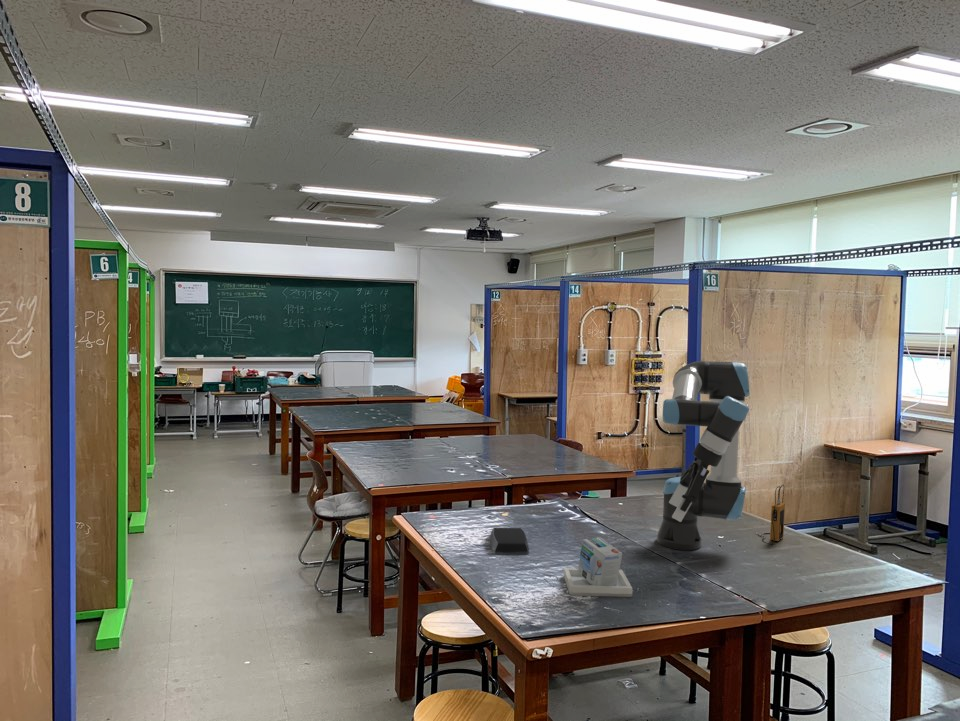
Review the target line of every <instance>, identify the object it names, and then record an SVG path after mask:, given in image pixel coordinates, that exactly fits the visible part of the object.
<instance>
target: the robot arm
mask: <svg viewBox="0 0 960 721" xmlns="http://www.w3.org/2000/svg"><path fill="white" fill-rule="evenodd" d="M748 373H749V371H748V368H747V365H746V364H745V363H743V362H736V361H735V362H734V361H709V360H698V361H694V362H691V363H688V364H685V365H683V366H682V367H680V368H679V369H678V370H677V371H676V372H675V374H674V376H673V380H672V386H673V392H672V397H671V398H669V399H668V398H666V399H664V400H663V402H662V403H663V404H662V421H663V422H664V423H665V424H668V425H669V424H671V425H673V426H691V427H693V426H695V427H697V426H698V427H706V428H705V429H704V431H703V433H702V435H701V436H700V438H699V443H697V444H696V446H695V448H694V449H693V451H692V455H693V456H694V459H693V460H692V461H691V463H690V464H689V466H688V467H687V469H686V470H685V471H684V473H682V475H681V476H675V477H670V478H668V479H666V481H665V482H664V484H663V485H664V486H663V488H664V489H663V491H662V492H663V506H662V508H663V510H662V521H661V524H660V526H659V528H658V532H657V535H656V542H657V544H659V545H661V546H663V547H665V548H668V549H674V550H678V551H679V550H680V551H682V550H683V551H693V550H697V549H698V550H699V549H701V548H702V545H703V544H702V542H703V541H702V540H703V539H702V536H701V532H700V530H699V526H698V517H701V518H711V519H712V518H713V519H720V520H725V521H728V520H730V521H737V520H739V519H740V518H741V517H742V513H743V509H744V503H745V498H746V490H747V489H746V487H745V486H744V485H742V480H741V479H740V478H739V477H738V456H739V454H738V453H739V435H740V433H739V431H740V430H739V429H740V428H741V425H742V424H743V422H744V421H745V420H746V418H747V416H748V414H749V412H750V407H749V406H748V405H747V404H746V403H745V399H746V398H747V397H749V396H750V381H749V374H748ZM698 394H699V395H700V394H701V395H708V400H707V401H705V400H698ZM708 467H710V470H709V469H708Z"/></svg>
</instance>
